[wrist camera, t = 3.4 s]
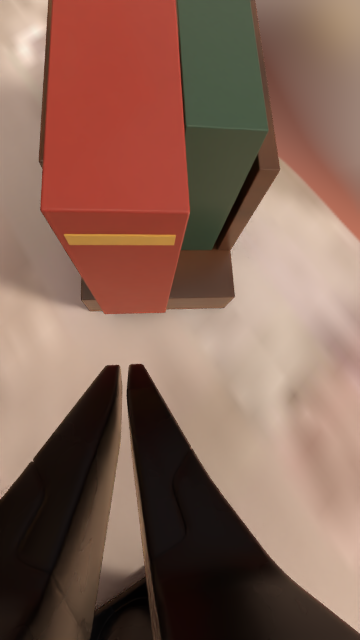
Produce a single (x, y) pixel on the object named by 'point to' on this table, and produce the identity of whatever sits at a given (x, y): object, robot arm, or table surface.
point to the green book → (218, 109)
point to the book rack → (215, 265)
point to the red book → (117, 148)
